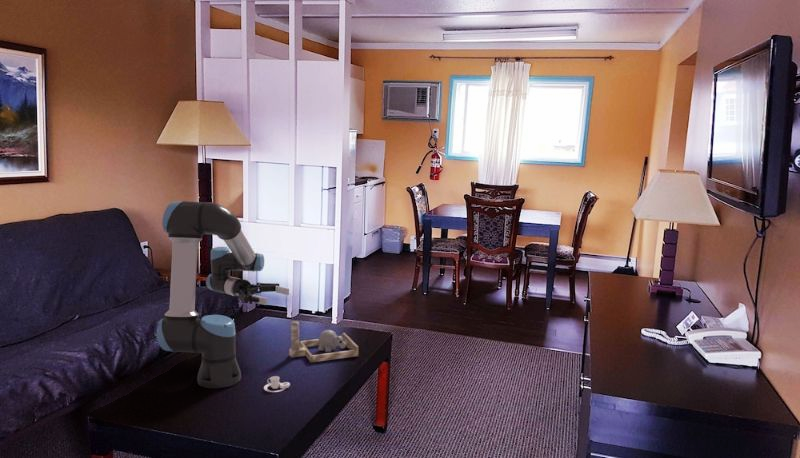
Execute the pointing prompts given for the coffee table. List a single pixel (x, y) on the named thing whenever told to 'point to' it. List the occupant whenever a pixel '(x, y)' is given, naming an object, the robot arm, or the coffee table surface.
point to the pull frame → (303, 345)
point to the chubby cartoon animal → (330, 341)
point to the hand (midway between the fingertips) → (277, 296)
